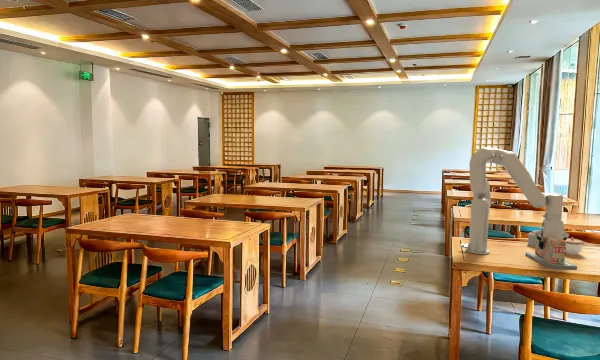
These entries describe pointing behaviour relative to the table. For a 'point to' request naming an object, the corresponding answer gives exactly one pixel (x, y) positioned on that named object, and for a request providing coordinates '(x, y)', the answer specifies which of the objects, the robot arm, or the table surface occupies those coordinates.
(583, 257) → the table surface
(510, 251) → the table surface
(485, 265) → the table surface
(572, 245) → the lidded jar
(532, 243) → the grey bumpy block
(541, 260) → the foundation board
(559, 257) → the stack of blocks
